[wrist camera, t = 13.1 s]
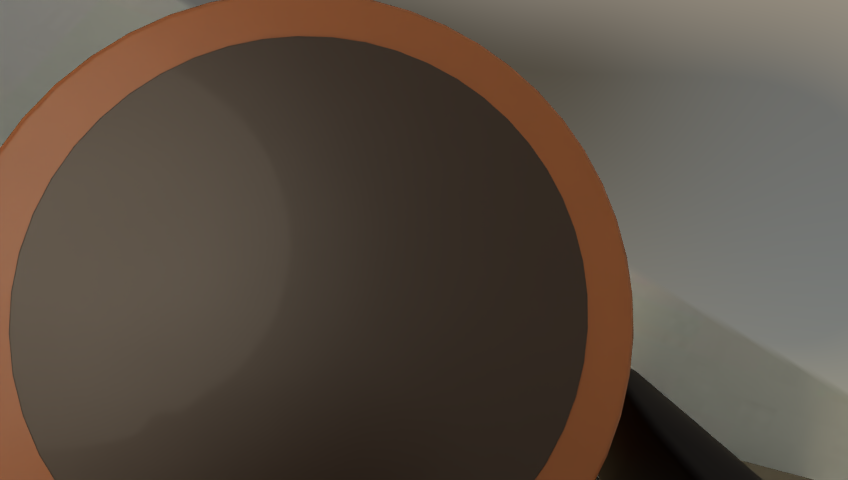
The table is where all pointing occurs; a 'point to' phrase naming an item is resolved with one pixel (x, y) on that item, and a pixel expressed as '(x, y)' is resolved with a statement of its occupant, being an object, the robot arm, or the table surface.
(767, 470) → the enamel pot
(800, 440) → the table surface
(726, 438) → the table surface
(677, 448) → the robot arm
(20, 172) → the orange cylindrical vase
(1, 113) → the table surface
